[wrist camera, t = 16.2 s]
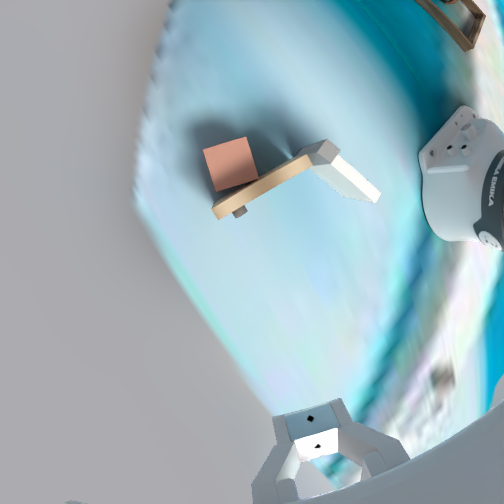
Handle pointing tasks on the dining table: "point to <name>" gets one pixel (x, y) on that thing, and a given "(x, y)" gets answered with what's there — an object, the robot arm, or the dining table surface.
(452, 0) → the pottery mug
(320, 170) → the light grey slab
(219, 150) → the salmon pink block
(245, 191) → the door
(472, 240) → the robot arm
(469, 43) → the frame
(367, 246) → the dining table surface
